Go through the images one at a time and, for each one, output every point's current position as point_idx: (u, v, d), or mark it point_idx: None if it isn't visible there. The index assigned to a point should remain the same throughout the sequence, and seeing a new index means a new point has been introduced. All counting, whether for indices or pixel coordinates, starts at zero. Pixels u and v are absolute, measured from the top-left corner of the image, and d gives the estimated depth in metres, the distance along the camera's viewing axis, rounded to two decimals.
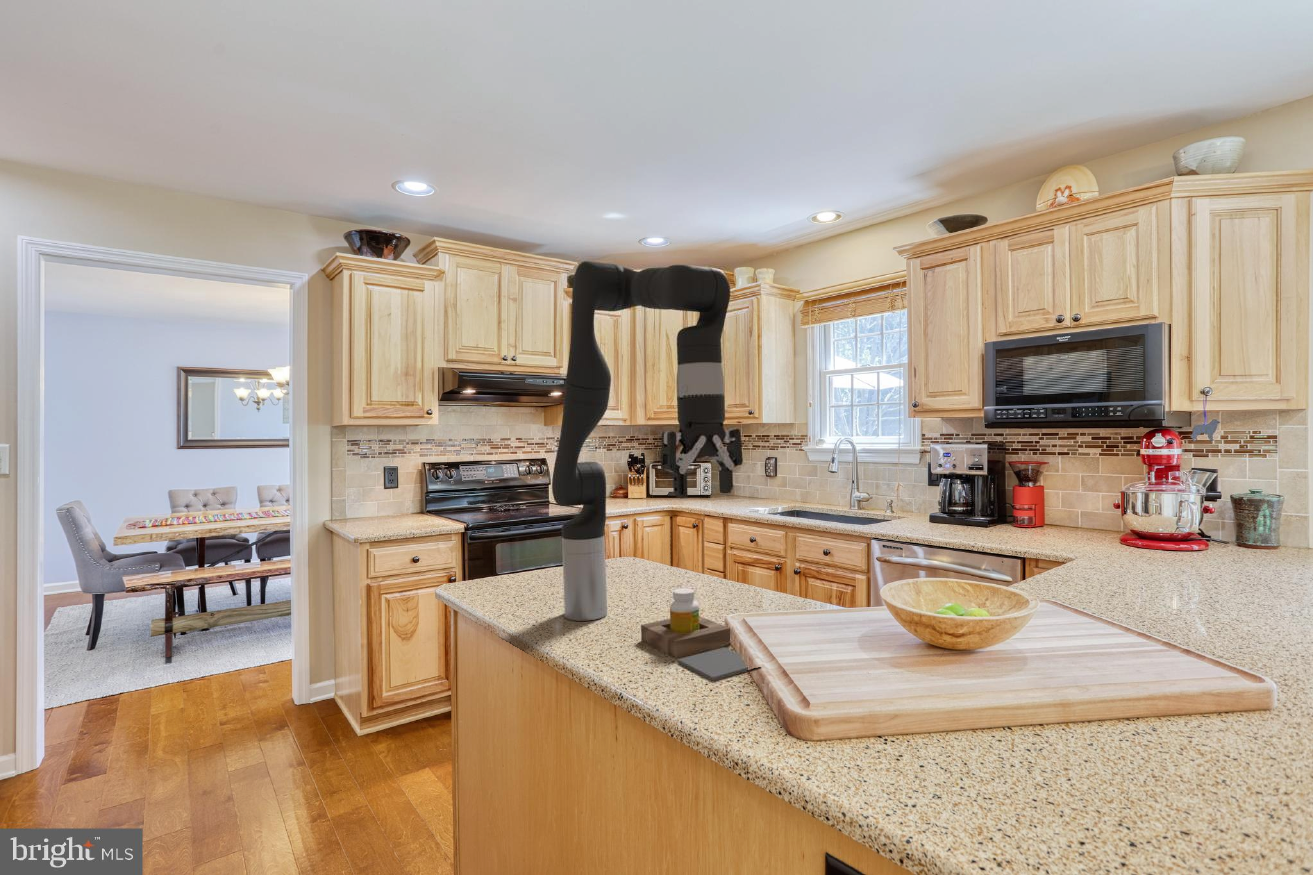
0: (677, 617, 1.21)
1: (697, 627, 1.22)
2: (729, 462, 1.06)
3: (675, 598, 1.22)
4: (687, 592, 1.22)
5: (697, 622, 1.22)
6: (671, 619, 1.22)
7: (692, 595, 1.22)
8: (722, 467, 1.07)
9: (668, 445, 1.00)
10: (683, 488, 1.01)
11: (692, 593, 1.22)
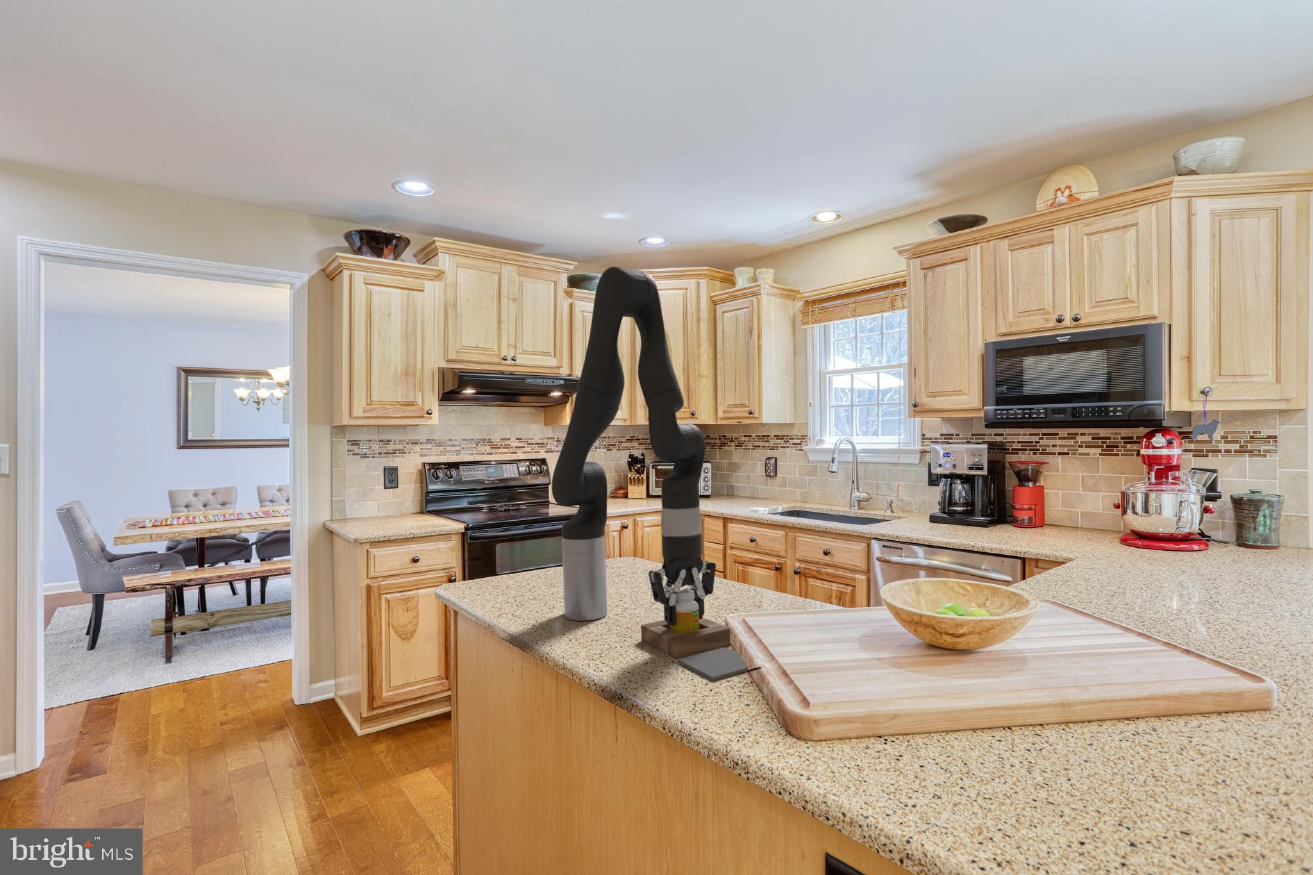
0: (677, 616, 1.21)
1: (697, 627, 1.22)
2: (701, 592, 1.23)
3: (676, 598, 1.22)
4: (687, 592, 1.22)
5: (697, 622, 1.22)
6: None
7: (692, 595, 1.22)
8: (695, 596, 1.25)
9: (656, 584, 1.19)
10: (672, 617, 1.20)
11: (692, 593, 1.22)
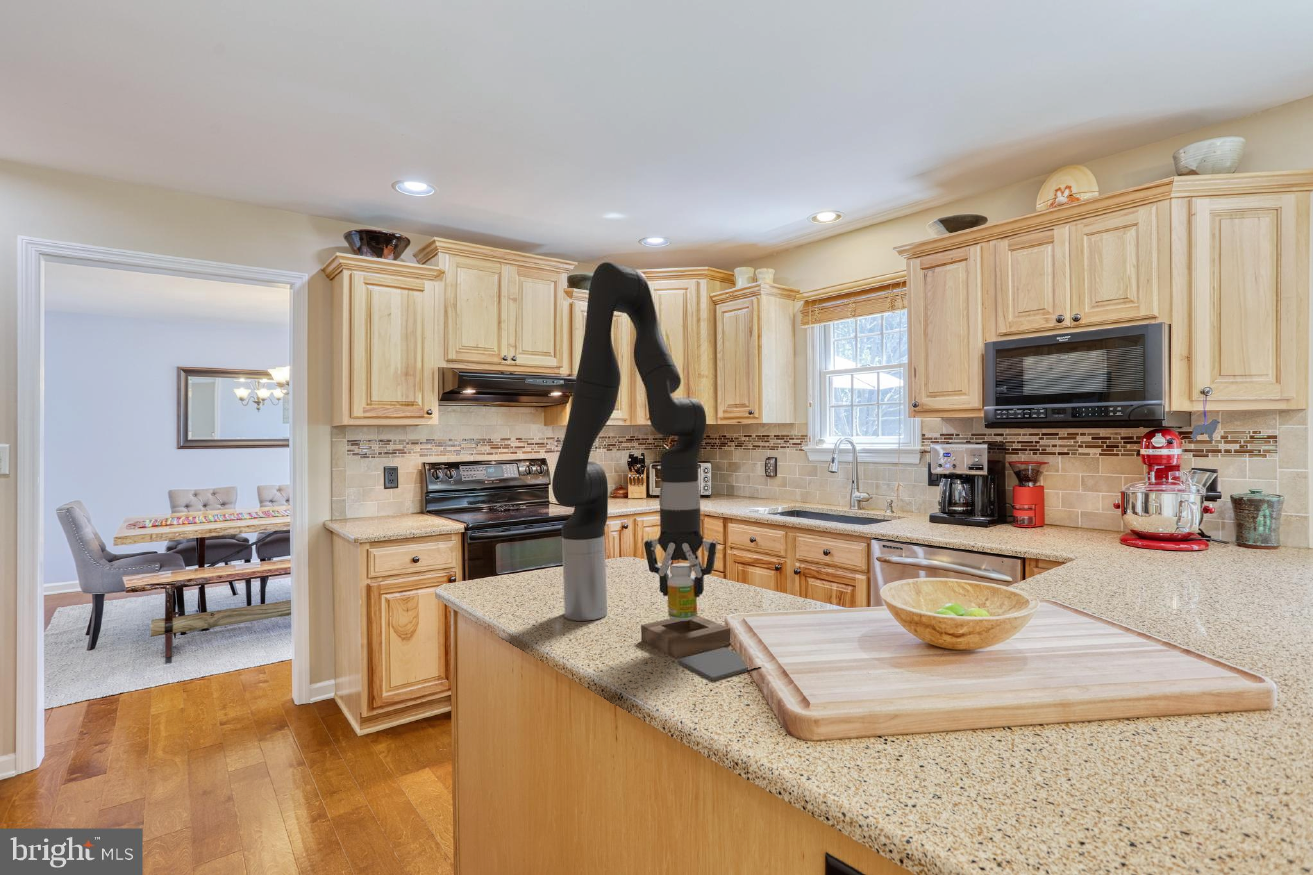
0: (667, 589, 1.22)
1: (686, 603, 1.20)
2: (697, 570, 1.21)
3: None
4: (678, 567, 1.21)
5: (686, 599, 1.20)
6: None
7: (682, 571, 1.21)
8: None
9: (646, 552, 1.23)
10: (663, 587, 1.23)
11: (682, 569, 1.21)
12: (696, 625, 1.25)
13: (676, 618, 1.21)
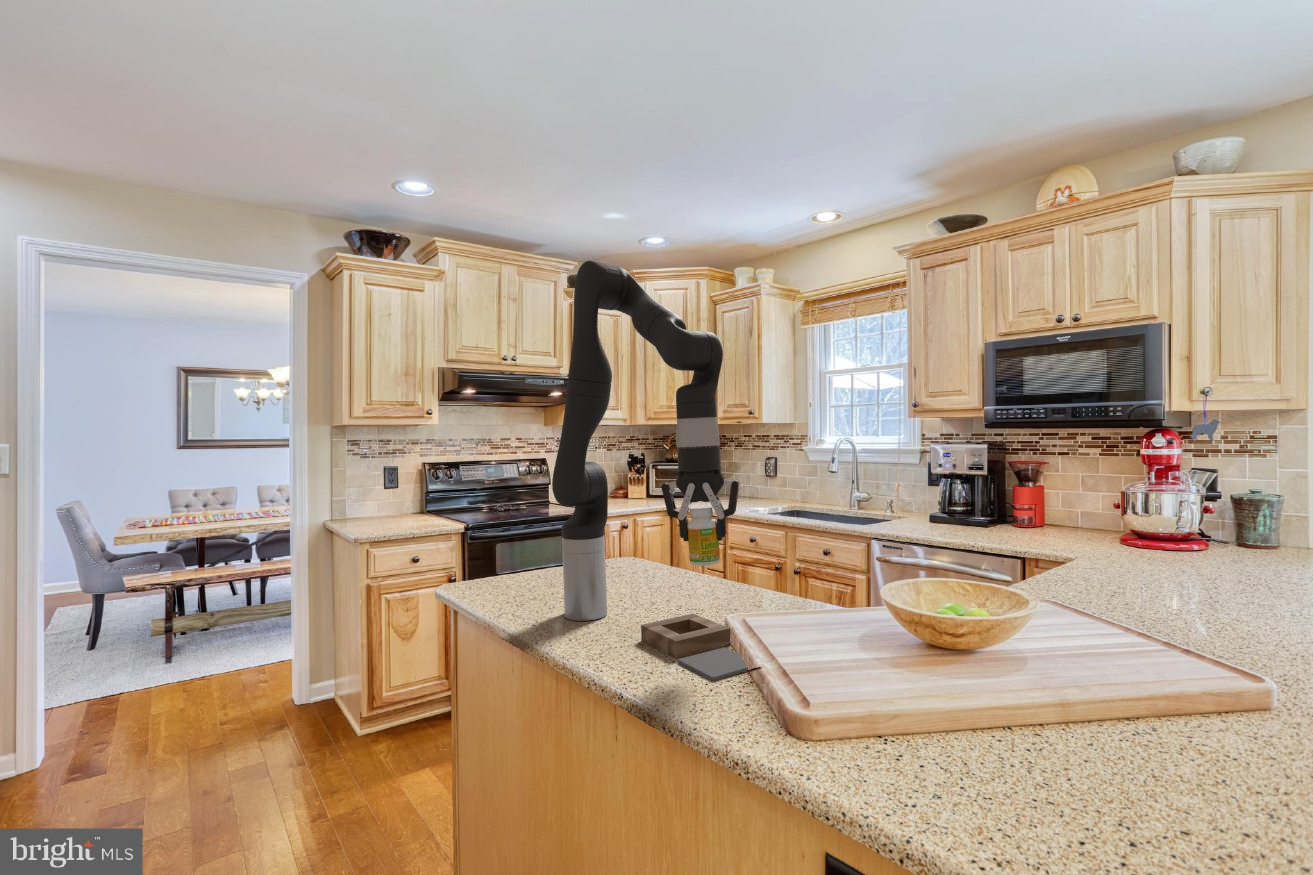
0: (688, 533, 1.15)
1: (708, 547, 1.13)
2: (719, 511, 1.14)
3: (690, 515, 1.16)
4: (699, 509, 1.14)
5: (709, 542, 1.13)
6: None
7: (703, 512, 1.14)
8: None
9: None
10: (683, 532, 1.15)
11: (703, 510, 1.14)
12: (696, 625, 1.25)
13: (699, 563, 1.13)
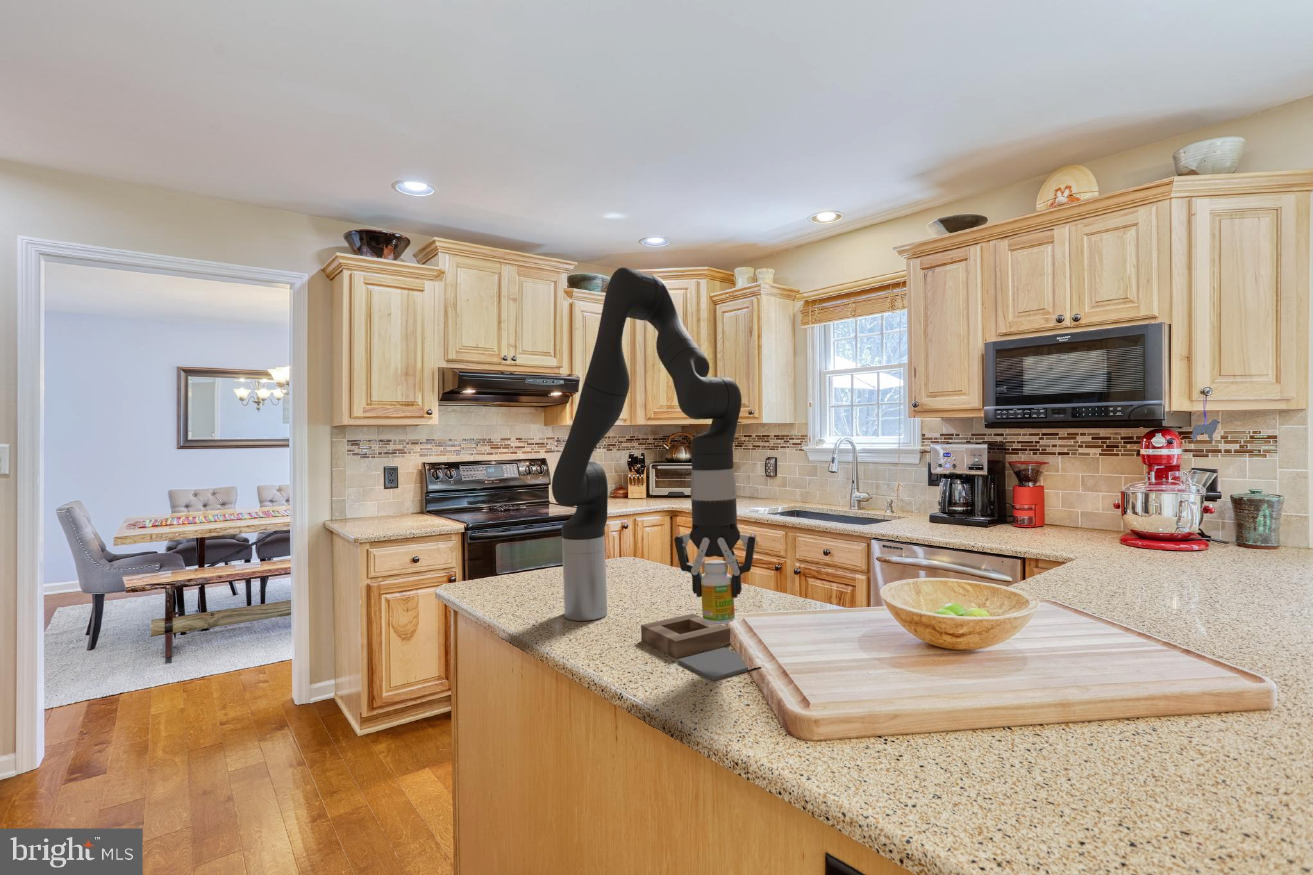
0: (701, 589, 1.10)
1: (723, 605, 1.08)
2: (734, 567, 1.09)
3: (704, 569, 1.11)
4: (713, 564, 1.09)
5: (723, 599, 1.08)
6: None
7: (718, 568, 1.09)
8: None
9: None
10: (696, 588, 1.11)
11: (718, 566, 1.09)
12: (696, 625, 1.25)
13: (712, 621, 1.08)
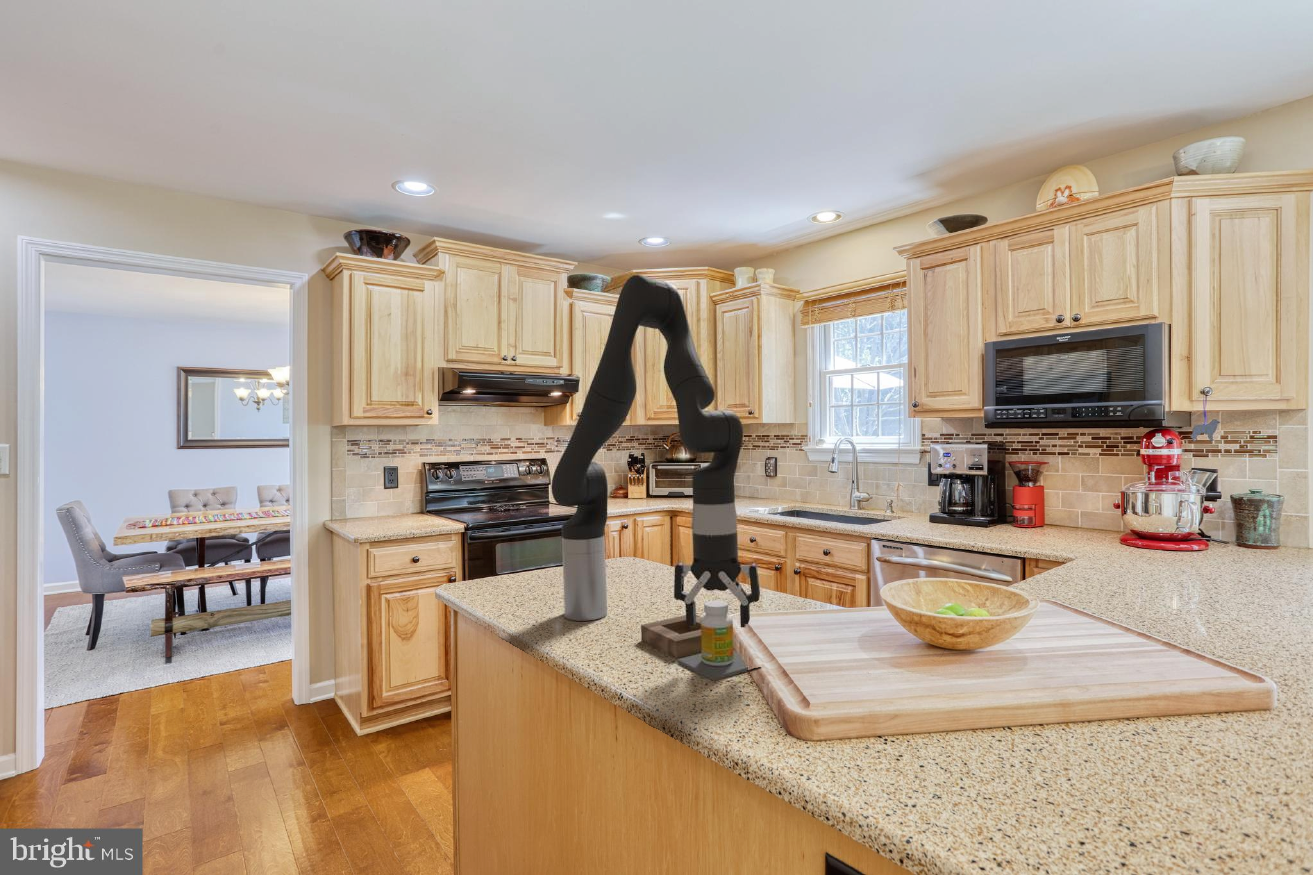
0: (701, 630, 1.10)
1: (722, 647, 1.08)
2: (742, 598, 1.08)
3: (704, 610, 1.11)
4: (714, 606, 1.10)
5: (723, 641, 1.08)
6: None
7: (718, 610, 1.09)
8: None
9: None
10: (690, 616, 1.11)
11: (719, 608, 1.09)
12: (696, 625, 1.25)
13: (711, 663, 1.09)
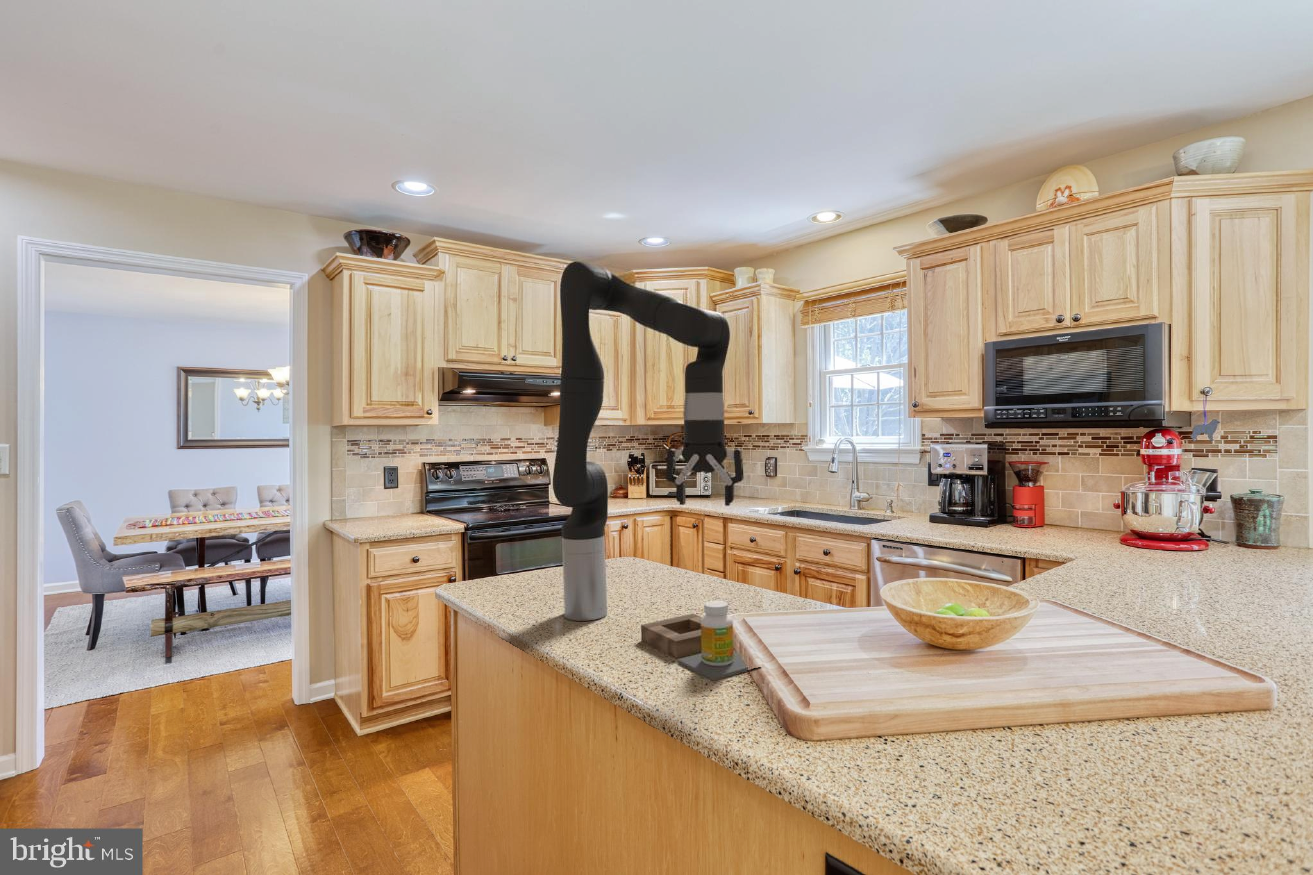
0: (701, 630, 1.10)
1: (722, 647, 1.08)
2: (727, 478, 1.20)
3: (704, 610, 1.11)
4: (714, 606, 1.10)
5: (723, 641, 1.08)
6: None
7: (718, 610, 1.09)
8: None
9: (667, 460, 1.23)
10: (679, 496, 1.23)
11: (718, 608, 1.09)
12: (696, 625, 1.25)
13: (711, 663, 1.09)
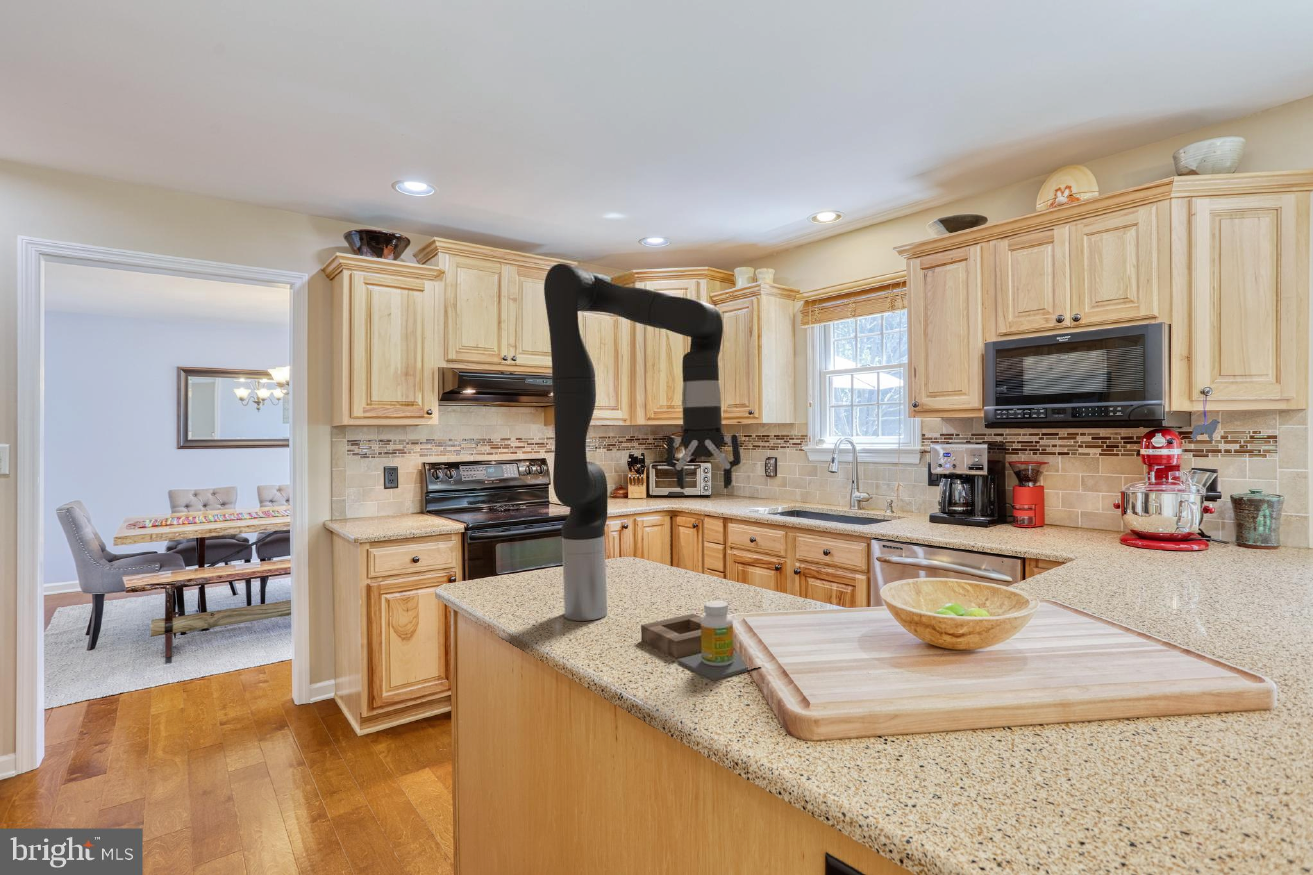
0: (701, 630, 1.10)
1: (722, 647, 1.08)
2: (725, 462, 1.26)
3: (704, 610, 1.11)
4: (714, 606, 1.10)
5: (723, 641, 1.08)
6: None
7: (718, 610, 1.09)
8: None
9: (667, 447, 1.28)
10: (680, 481, 1.28)
11: (718, 608, 1.09)
12: (696, 625, 1.25)
13: (711, 663, 1.09)
